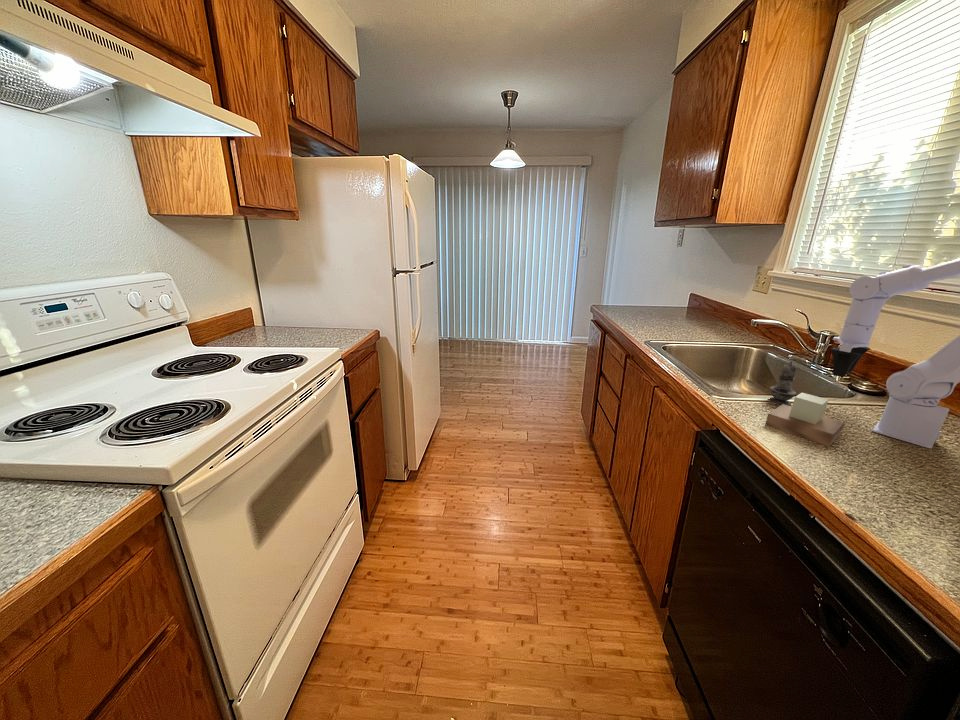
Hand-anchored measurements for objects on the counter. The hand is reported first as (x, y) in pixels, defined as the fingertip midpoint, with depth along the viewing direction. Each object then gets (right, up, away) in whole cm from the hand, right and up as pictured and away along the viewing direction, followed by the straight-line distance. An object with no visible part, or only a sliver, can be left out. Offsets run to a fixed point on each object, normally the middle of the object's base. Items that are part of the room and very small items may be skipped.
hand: (842, 373), depth 102 cm
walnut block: (-20, -13, -11) cm, 27 cm away
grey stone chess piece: (-14, -8, +4) cm, 17 cm away
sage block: (-20, -10, -12) cm, 26 cm away
